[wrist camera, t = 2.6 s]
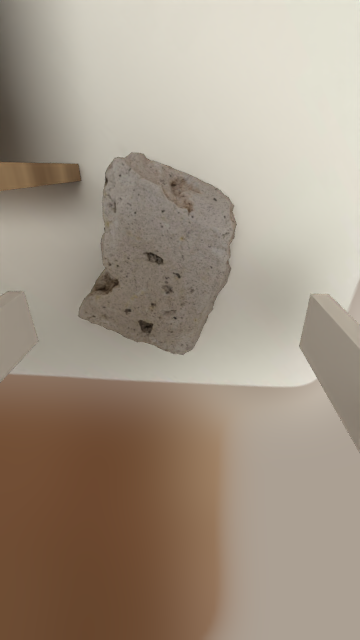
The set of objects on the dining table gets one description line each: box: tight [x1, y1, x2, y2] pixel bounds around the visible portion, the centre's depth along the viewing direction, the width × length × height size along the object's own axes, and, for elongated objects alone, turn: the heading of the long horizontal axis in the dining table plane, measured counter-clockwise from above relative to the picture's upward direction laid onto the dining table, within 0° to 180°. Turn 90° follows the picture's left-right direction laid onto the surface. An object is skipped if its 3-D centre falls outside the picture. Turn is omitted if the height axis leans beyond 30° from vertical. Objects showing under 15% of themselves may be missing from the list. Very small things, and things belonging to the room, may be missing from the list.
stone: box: [79, 153, 237, 355], centre depth 20 cm, size 13×6×10 cm
